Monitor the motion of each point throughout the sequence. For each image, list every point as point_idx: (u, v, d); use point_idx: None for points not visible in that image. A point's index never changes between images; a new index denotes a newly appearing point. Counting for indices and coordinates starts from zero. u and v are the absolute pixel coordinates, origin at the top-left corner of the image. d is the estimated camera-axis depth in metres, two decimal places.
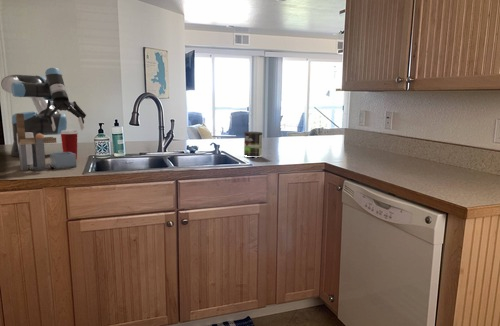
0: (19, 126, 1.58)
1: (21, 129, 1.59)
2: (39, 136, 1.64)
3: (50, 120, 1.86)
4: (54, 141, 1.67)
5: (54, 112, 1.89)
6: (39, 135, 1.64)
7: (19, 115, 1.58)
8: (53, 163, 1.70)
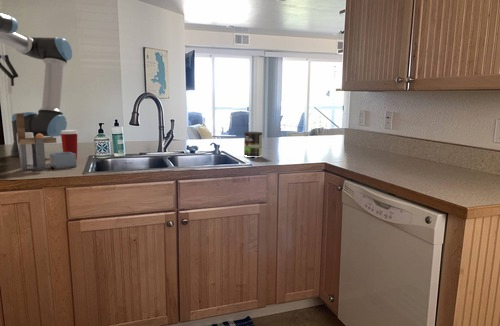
0: (19, 126, 1.58)
1: (21, 129, 1.59)
2: (39, 136, 1.64)
3: None
4: (54, 141, 1.67)
5: None
6: (39, 135, 1.64)
7: (19, 115, 1.58)
8: (53, 163, 1.70)
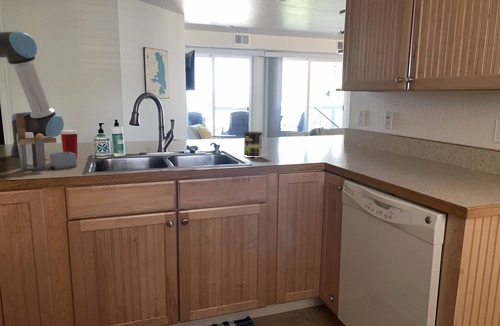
0: (19, 126, 1.58)
1: (21, 129, 1.59)
2: (39, 136, 1.64)
3: None
4: (54, 141, 1.67)
5: None
6: (39, 135, 1.64)
7: (19, 115, 1.58)
8: (53, 163, 1.70)
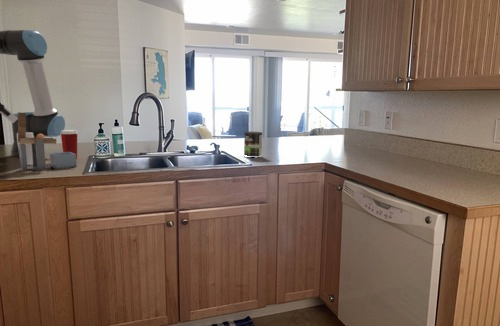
0: (20, 125, 1.58)
1: (22, 129, 1.59)
2: (40, 136, 1.64)
3: None
4: (54, 142, 1.67)
5: None
6: (40, 135, 1.64)
7: (21, 114, 1.58)
8: (53, 163, 1.70)
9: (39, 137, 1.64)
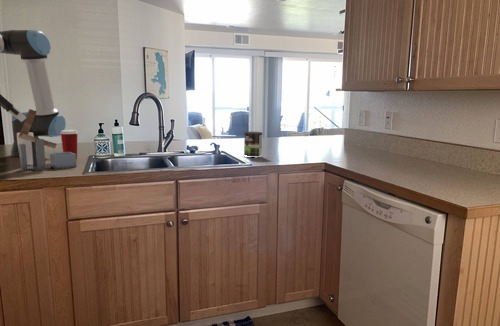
0: (27, 121, 1.60)
1: (28, 125, 1.60)
2: None
3: None
4: (53, 146, 1.67)
5: None
6: None
7: (32, 111, 1.61)
8: (53, 163, 1.70)
9: None
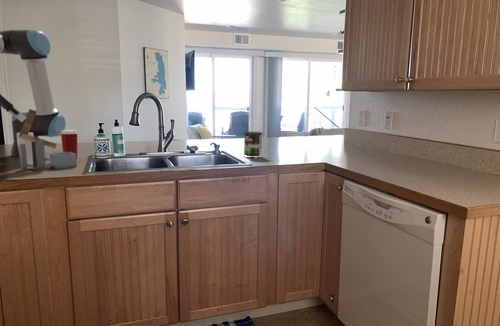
0: (27, 121, 1.60)
1: (28, 125, 1.60)
2: None
3: None
4: (53, 146, 1.67)
5: None
6: None
7: (32, 111, 1.61)
8: (53, 163, 1.70)
9: None
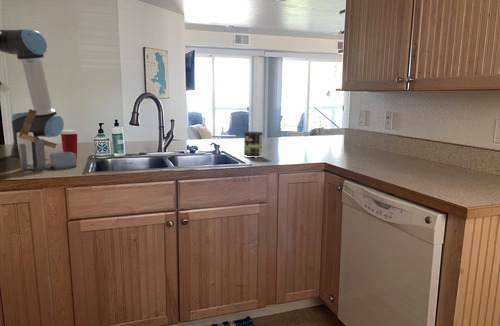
0: (27, 121, 1.60)
1: (28, 125, 1.60)
2: None
3: None
4: (53, 146, 1.67)
5: None
6: None
7: (32, 111, 1.61)
8: (53, 163, 1.70)
9: None
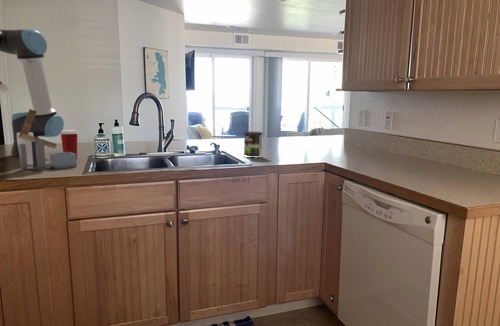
0: (27, 121, 1.60)
1: (28, 125, 1.60)
2: None
3: None
4: (53, 146, 1.67)
5: None
6: None
7: (32, 111, 1.61)
8: (53, 163, 1.70)
9: None
